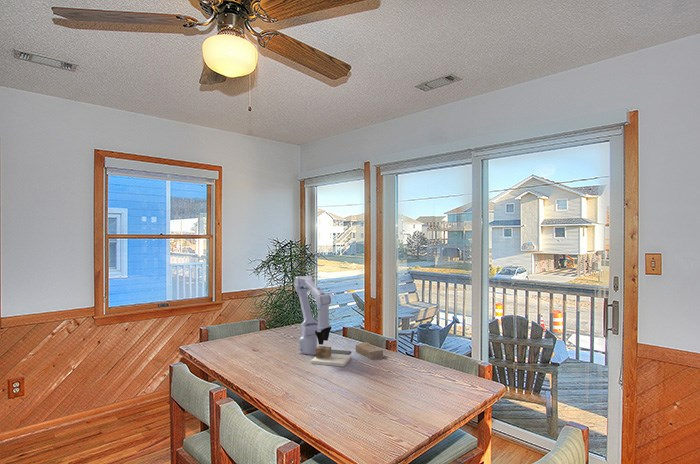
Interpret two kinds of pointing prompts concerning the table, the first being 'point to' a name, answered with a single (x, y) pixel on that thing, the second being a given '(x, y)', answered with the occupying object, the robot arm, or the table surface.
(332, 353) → the mat
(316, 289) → the robot arm
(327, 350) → the block
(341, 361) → the board
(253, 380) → the table surface
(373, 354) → the brick
